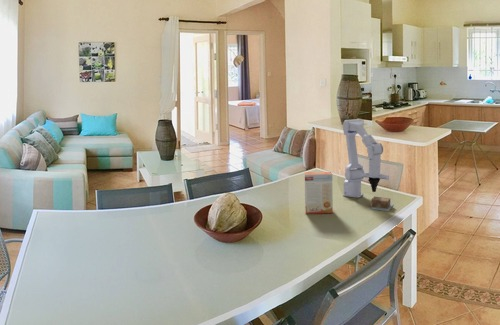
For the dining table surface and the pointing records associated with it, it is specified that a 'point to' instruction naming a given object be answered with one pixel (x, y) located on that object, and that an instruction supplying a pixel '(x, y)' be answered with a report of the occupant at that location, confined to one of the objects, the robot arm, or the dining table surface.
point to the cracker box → (318, 192)
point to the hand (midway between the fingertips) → (374, 191)
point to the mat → (383, 208)
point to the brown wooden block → (380, 202)
